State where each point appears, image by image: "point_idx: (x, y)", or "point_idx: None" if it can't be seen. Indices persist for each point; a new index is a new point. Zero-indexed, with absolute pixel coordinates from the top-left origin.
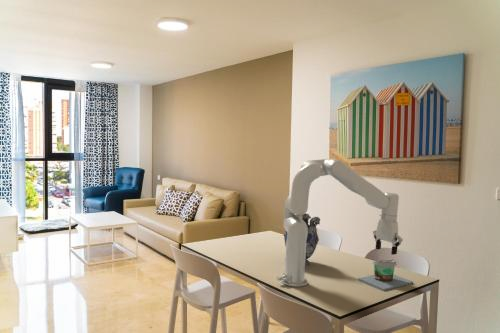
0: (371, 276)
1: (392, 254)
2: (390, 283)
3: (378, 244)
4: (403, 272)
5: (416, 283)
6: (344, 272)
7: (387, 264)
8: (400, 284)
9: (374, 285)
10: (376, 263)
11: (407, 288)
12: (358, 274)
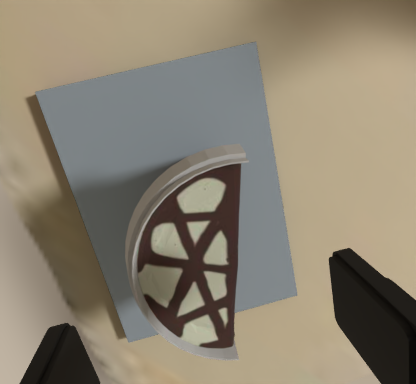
0: (261, 159)
1: (51, 327)
2: (122, 200)
3: (374, 325)
4: (285, 378)
5: (128, 351)
6: (401, 48)
7: (131, 232)
8: (96, 249)
9: (112, 74)
10: (202, 156)
11: (65, 264)
12: (340, 120)
